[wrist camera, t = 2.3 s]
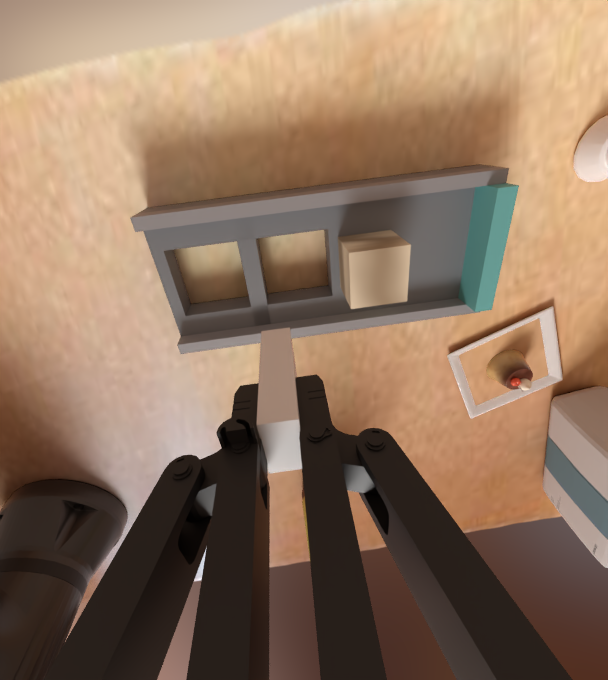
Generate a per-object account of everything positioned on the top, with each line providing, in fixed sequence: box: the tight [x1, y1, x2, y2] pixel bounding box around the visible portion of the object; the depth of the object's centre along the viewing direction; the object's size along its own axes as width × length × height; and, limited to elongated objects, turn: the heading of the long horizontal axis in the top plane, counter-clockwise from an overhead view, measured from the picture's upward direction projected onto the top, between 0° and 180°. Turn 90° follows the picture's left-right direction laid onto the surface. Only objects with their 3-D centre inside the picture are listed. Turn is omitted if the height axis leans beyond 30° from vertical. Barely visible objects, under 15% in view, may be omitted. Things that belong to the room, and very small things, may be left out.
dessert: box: [447, 306, 563, 418], centre depth 38 cm, size 12×12×5 cm
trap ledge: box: [130, 165, 519, 354], centre depth 28 cm, size 28×12×6 cm, turn 96°
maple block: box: [338, 230, 411, 309], centre depth 27 cm, size 4×4×4 cm
